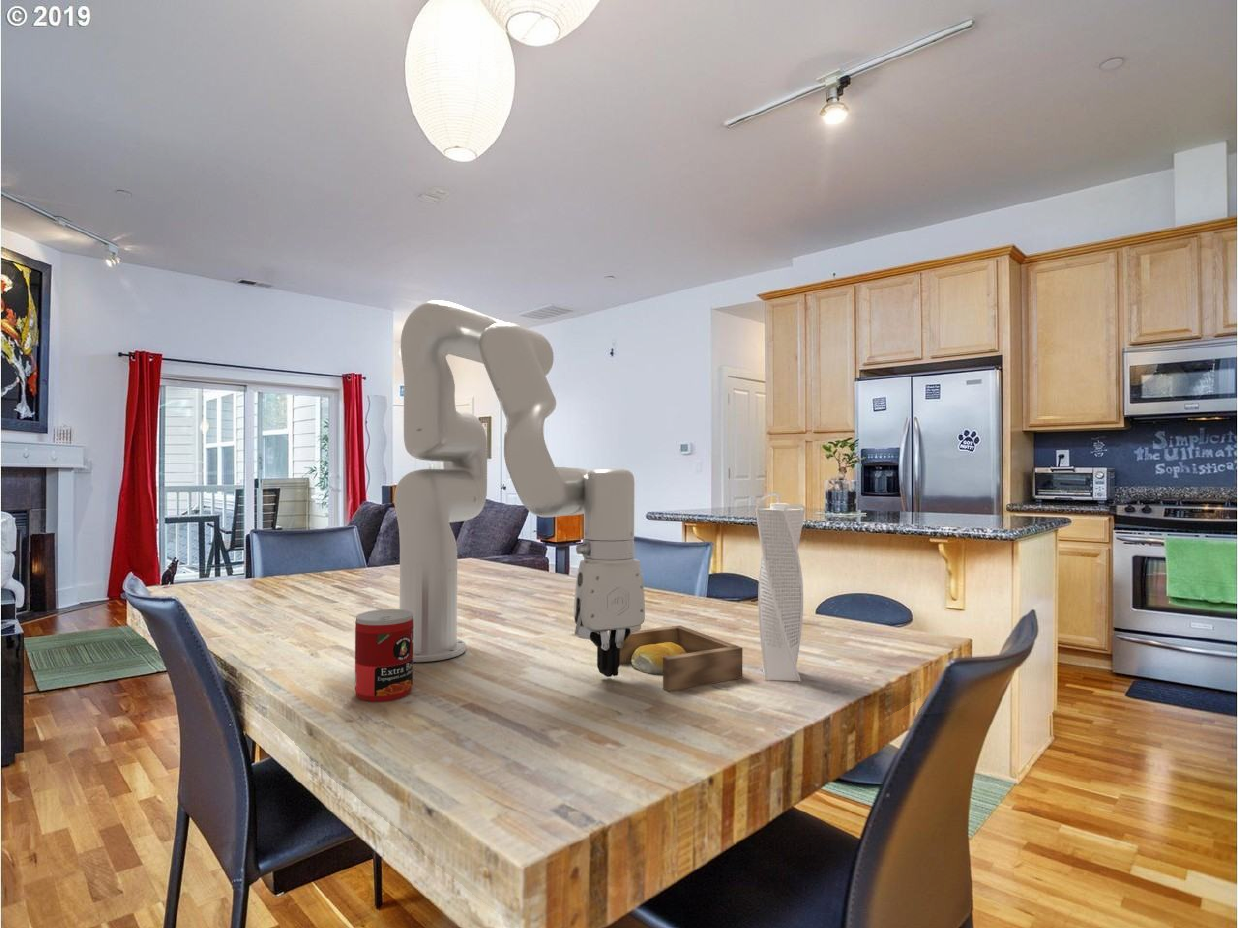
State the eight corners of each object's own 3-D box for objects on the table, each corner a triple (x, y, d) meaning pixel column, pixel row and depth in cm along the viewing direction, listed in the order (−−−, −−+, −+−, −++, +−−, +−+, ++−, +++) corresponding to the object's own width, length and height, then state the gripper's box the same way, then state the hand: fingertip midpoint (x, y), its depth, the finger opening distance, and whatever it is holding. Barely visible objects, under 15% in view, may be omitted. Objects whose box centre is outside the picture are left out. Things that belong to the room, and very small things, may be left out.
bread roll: (697, 667, 104) (698, 642, 104) (658, 678, 98) (659, 652, 98) (661, 656, 110) (661, 633, 110) (622, 666, 104) (622, 641, 105)
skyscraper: (753, 666, 104) (752, 492, 105) (800, 667, 103) (799, 492, 104) (758, 681, 96) (758, 493, 97) (810, 683, 95) (809, 493, 96)
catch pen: (668, 691, 92) (668, 659, 92) (612, 661, 106) (612, 634, 107) (742, 677, 98) (742, 647, 98) (680, 651, 113) (680, 625, 113)
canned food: (379, 706, 85) (380, 622, 86) (342, 695, 90) (342, 615, 90) (425, 690, 92) (425, 612, 92) (388, 680, 96) (388, 606, 96)
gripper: (574, 556, 90) (573, 688, 90) (664, 551, 97) (664, 673, 97) (553, 550, 97) (552, 674, 96) (638, 546, 104) (638, 660, 104)
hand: (608, 673), depth 97 cm, fingers closed
